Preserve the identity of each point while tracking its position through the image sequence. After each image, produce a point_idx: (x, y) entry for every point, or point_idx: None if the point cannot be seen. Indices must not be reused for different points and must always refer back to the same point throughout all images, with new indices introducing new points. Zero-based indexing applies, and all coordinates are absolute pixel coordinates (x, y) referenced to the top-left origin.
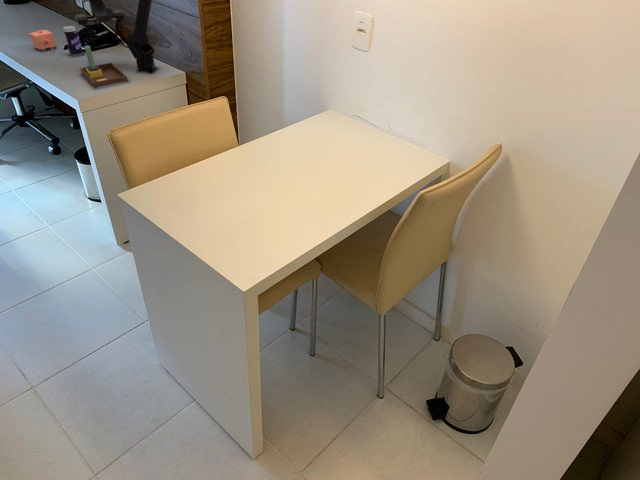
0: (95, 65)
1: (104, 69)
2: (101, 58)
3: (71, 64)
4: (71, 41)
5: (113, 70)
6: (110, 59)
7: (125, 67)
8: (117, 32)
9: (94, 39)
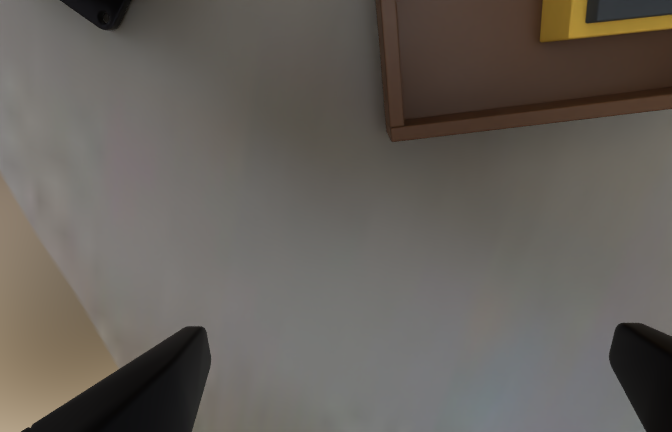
0: (612, 7)
1: (471, 97)
2: (409, 386)
3: None
4: None
5: (402, 28)
6: (354, 343)
7: (276, 107)
8: (114, 375)
9: (638, 326)
